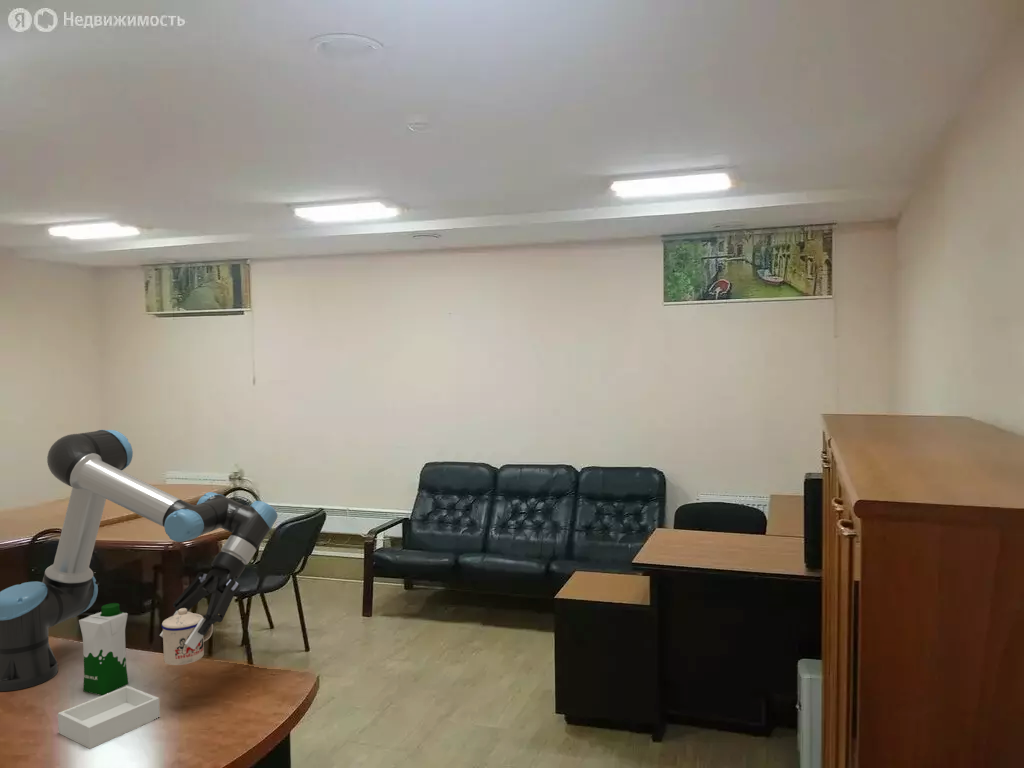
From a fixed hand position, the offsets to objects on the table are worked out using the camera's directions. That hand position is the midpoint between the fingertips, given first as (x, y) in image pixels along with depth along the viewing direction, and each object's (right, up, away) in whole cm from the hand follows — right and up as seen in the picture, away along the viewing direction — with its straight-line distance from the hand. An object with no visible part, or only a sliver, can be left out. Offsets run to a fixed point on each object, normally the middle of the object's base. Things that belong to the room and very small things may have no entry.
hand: (176, 642), depth 172 cm
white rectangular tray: (-12, -16, -7) cm, 21 cm away
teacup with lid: (+2, -4, +3) cm, 6 cm away
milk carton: (-23, -16, +12) cm, 31 cm away
